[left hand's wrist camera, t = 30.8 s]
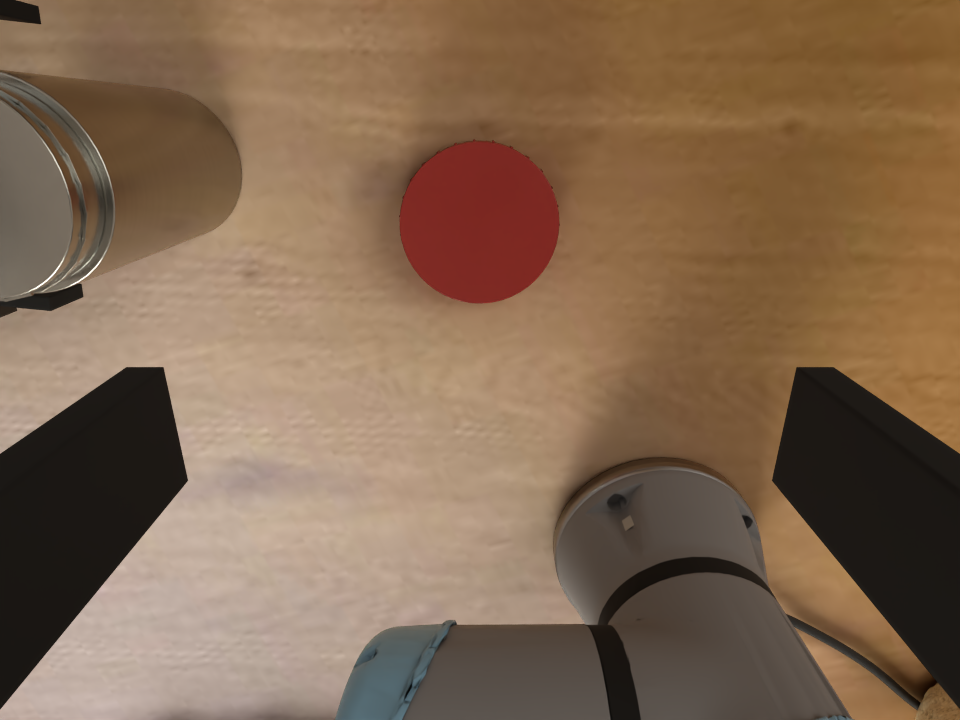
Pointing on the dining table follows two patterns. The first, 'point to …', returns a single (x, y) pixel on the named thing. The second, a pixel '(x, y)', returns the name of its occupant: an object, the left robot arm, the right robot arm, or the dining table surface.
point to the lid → (479, 222)
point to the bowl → (937, 706)
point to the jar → (103, 177)
